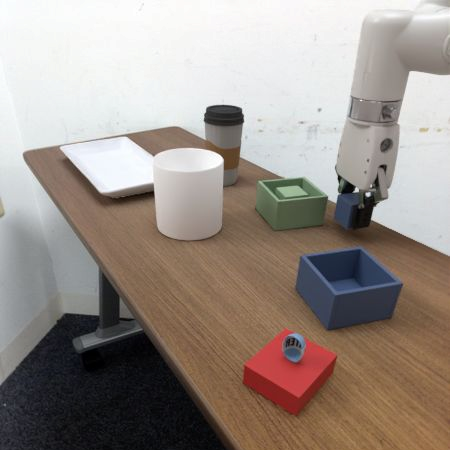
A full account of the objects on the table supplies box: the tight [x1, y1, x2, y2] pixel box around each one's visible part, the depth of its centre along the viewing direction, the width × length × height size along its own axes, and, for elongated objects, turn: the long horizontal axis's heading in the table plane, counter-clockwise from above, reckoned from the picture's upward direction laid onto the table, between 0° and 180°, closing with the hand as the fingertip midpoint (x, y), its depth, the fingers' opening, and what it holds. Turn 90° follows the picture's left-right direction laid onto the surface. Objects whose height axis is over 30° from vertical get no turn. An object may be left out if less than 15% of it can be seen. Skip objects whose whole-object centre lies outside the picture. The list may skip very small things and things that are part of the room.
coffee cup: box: [203, 104, 245, 187], centre depth 90 cm, size 8×8×15 cm
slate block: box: [333, 191, 375, 230], centre depth 73 cm, size 4×4×4 cm
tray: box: [59, 136, 154, 199], centre depth 95 cm, size 17×32×4 cm, turn 31°
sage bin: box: [255, 176, 329, 232], centre depth 79 cm, size 10×10×6 cm
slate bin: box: [295, 246, 404, 331], centre depth 58 cm, size 10×10×6 cm
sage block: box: [275, 186, 308, 200], centre depth 79 cm, size 4×4×4 cm
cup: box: [152, 147, 224, 242], centre depth 73 cm, size 12×12×12 cm
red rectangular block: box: [242, 328, 338, 417], centre depth 46 cm, size 8×7×6 cm
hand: (351, 220), depth 74 cm, fingers closed on slate block, 4 cm apart
